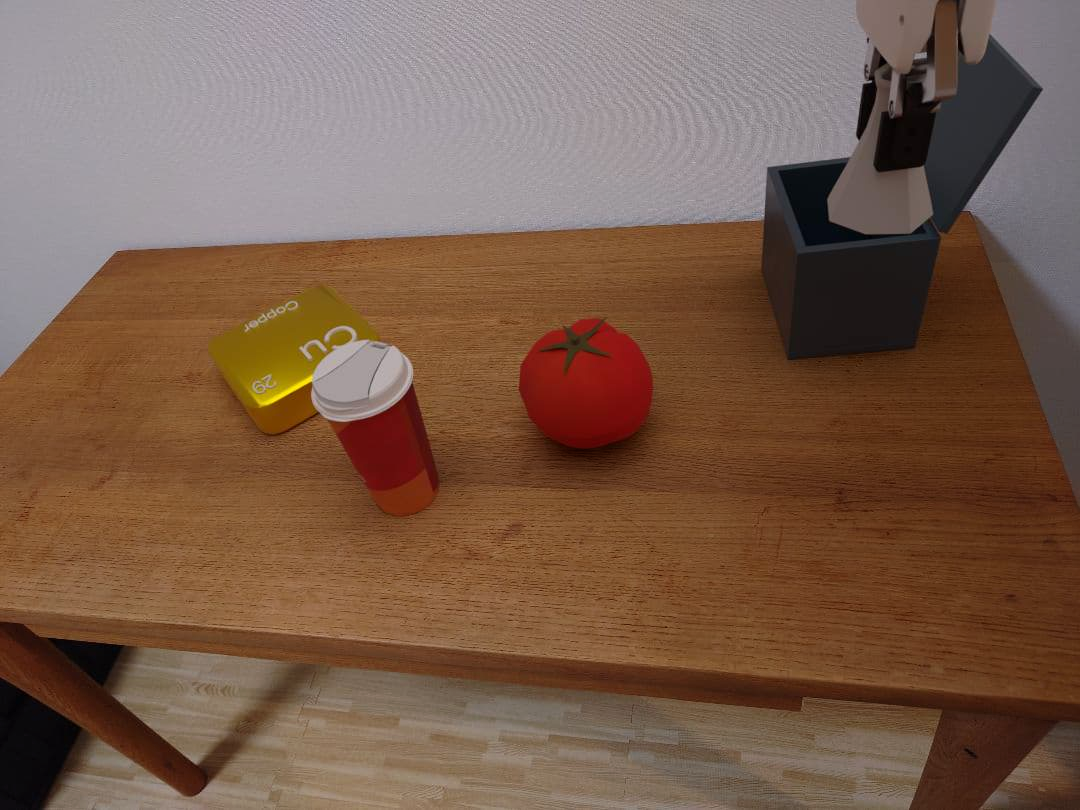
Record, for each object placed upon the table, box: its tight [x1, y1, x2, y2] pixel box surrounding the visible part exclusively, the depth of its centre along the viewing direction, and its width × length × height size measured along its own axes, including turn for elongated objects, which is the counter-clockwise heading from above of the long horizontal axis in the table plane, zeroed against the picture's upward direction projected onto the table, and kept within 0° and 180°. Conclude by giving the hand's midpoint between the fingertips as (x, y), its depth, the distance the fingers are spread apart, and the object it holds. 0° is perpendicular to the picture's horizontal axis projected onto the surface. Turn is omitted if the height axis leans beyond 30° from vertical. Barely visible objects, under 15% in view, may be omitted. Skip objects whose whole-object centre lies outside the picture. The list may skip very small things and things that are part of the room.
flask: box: [827, 63, 933, 234], centre depth 54 cm, size 7×7×10 cm
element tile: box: [207, 284, 382, 435], centre depth 85 cm, size 15×15×5 cm
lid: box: [924, 33, 1044, 234], centre depth 68 cm, size 13×15×1 cm
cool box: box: [760, 156, 942, 360], centre depth 77 cm, size 12×15×12 cm
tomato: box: [518, 315, 654, 449], centre depth 71 cm, size 12×12×11 cm
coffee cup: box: [311, 340, 440, 517], centre depth 68 cm, size 8×8×15 cm
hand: (889, 149), depth 54 cm, fingers closed on flask, 3 cm apart
